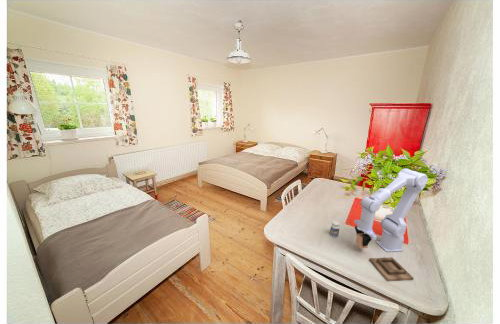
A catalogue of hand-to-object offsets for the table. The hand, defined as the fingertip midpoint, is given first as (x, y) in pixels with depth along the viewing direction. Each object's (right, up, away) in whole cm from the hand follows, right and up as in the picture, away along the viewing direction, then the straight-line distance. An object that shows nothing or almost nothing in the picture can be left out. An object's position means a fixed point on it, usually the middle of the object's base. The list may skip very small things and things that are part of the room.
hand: (362, 242), depth 100 cm
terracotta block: (0, -2, 0) cm, 2 cm away
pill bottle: (-9, -1, +13) cm, 16 cm away
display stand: (+7, -8, -11) cm, 15 cm away
